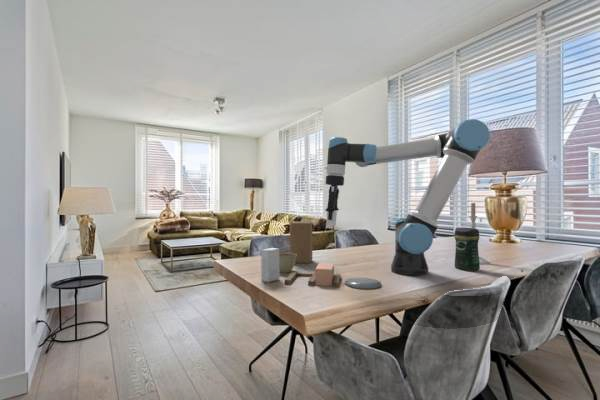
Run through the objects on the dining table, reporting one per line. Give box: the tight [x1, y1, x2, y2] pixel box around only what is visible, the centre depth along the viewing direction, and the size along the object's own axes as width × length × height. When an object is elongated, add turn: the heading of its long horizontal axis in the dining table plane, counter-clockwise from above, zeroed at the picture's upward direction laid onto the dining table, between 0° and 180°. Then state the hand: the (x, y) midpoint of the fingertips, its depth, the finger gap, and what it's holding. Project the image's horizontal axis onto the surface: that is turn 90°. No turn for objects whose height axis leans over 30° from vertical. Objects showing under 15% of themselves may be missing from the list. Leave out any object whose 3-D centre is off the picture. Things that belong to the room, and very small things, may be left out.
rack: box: [284, 271, 342, 288], centre depth 116 cm, size 20×14×2 cm
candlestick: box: [469, 202, 489, 265], centre depth 152 cm, size 13×13×30 cm
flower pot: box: [279, 252, 297, 273], centre depth 132 cm, size 10×10×7 cm
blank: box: [314, 262, 335, 287], centre depth 115 cm, size 6×10×6 cm, turn 169°
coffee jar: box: [454, 227, 481, 272], centre depth 136 cm, size 10×8×19 cm
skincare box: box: [260, 247, 280, 283], centre depth 117 cm, size 6×4×12 cm
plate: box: [344, 277, 382, 290], centre depth 111 cm, size 13×13×1 cm
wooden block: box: [289, 220, 313, 264], centre depth 152 cm, size 10×10×20 cm
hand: (331, 226), depth 125 cm, fingers open, 13 cm apart
